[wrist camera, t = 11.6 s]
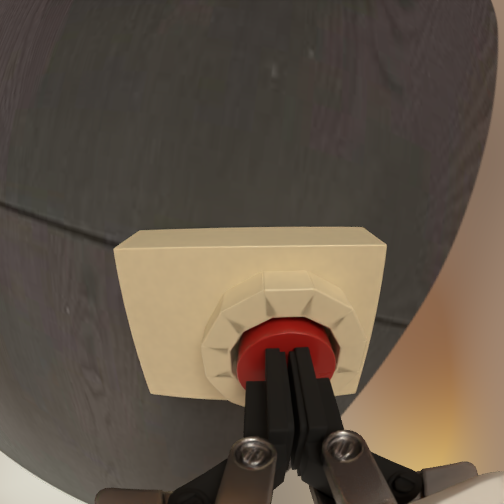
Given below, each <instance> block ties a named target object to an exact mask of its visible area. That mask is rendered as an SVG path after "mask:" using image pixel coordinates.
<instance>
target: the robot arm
mask: <svg viewBox="0 0 504 504" xmlns="http://www.w3.org/2000/svg"><path fill="white" fill-rule="evenodd" d="M290 456H291V467H292V470H296V469H297V473H298V476H301V479H302V481H304V482H305V483H307V484H309V489H310V492H311V494H312V498H313V501H314V504H504V472H490V473H486V474H482V475H478V473H477V470H476V467H475V466H474V465H473V464H472V463H469V462H459V463H454V464H450V465H444V466H438V467H433V468H426V469H422V470H421V471H417V472H415V471H413V470H412V469H409V468H406V467H404V466H402V465H399V464H397V463H394V462H392V461H390V460H388V459H385V458H383V457H381V456H378V455H377V454H374V453H372V452H371V451H370V450H369V448H368V446H367V444H366V442H365V440H364V439H363V438H362V436H361V435H359V434H358V433H356V432H353V431H350V430H344V428H343V425H342V420H341V417H340V413H339V410H338V406H337V403H336V399H335V396H334V392H333V389H332V385H331V382H330V379H329V378H328V377H327V378H316V375H315V371H314V367H313V363H312V359H311V355H310V351H309V347H296V348H294V351H289V355H288V369H287V363H286V356H285V352H280V349H279V348H265V381H246V392H245V415H244V438H243V439H241V440H239V441H237V442H236V443H235V444H234V445H233V446H232V448H231V450H230V453H229V456H228V458H227V459H226V460H224V461H223V462H221V463H220V464H218V465H217V466H215V467H213V468H212V469H210V470H209V471H207V472H205V473H204V474H202V475H201V476H199V477H197V478H196V479H194V480H192V481H190V482H189V483H187V484H185V485H183V486H182V487H180V488H178V489H176V490H175V491H168V492H163V490H140V489H121V488H105V489H102V490H100V491H99V492H98V493H97V494H96V498H95V504H271V501H272V495H273V490H274V489H275V488H276V487H277V486H279V485H280V484H281V483H282V482H284V476H285V471H286V470H288V466H289V461H290Z"/></svg>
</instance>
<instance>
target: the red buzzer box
mask: <svg viewBox="0 0 504 504" xmlns="http://www.w3.org/2000/svg"><path fill="white" fill-rule="evenodd" d="M386 249H387V245H386V244H385V243H384V242H382V241H381V240H379V239H378V238H377V237H375V236H374V235H373V234H371V233H370V232H368V231H367V230H366V229H364V228H363V227H243V228H198V229H166V230H140V231H138V232H137V233H135V234H134V235H132V236H131V237H129V238H128V239H127V240H125V241H124V242H122V243H121V244H119V245H118V246H117V247H115V248H114V256H115V261H116V267H117V272H118V277H119V282H120V287H121V292H122V296H123V301H124V305H125V309H126V313H127V317H128V321H129V325H130V329H131V333H132V336H133V340H134V344H135V347H136V350H137V354H138V357H139V360H140V364H141V367H142V370H143V373H144V376H145V379H146V382H147V385H148V388H149V390H150V393H151V394H157V395H165V396H174V397H185V398H198V399H214V400H229V401H230V402H232V403H235V404H238V405H241V406H243V407H245V392H246V390H244V388H243V387H242V386H241V384H240V382H239V380H238V377H237V358H238V348H239V340H240V337H241V335H242V334H243V332H244V331H246V330H248V329H251V328H253V327H255V326H257V325H259V324H261V323H263V322H265V321H267V320H269V319H271V318H279V317H306V318H308V319H310V320H312V321H315V322H317V323H319V324H321V325H323V327H324V328H325V330H326V333H327V335H328V338H329V341H330V344H331V347H332V349H333V352H334V355H335V359H336V366H335V371H334V374H333V376H332V378H331V380H330V382H331V385H332V389H333V392H334V396H338V395H346V394H354V393H356V389H357V386H358V383H359V379H360V376H361V373H362V369H363V365H364V362H365V358H366V354H367V350H368V346H369V342H370V338H371V334H372V329H373V325H374V320H375V315H376V310H377V305H378V300H379V295H380V289H381V283H382V277H383V270H384V264H385V256H386Z"/></svg>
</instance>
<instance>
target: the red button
mask: <svg viewBox="0 0 504 504" xmlns="http://www.w3.org/2000/svg"><path fill="white" fill-rule="evenodd" d="M296 347H309V351H310V355H311V359H312V363H313V367H314V371H315V375H316V378H327V377H328V378H329V379H330V380H331V378H332V376H333V374H334V371H335V366H336V359H335V355H334V352H333V349H332V347H331V344H330V341H329V338H328V335H327V333H326V330H325V328H324V327H323V325H321V324H319V323H317V322H315V321H312V320H310V319H308V318H306V317H279V318H271V319H269V320H267V321H265V322H263V323H261V324H259V325H257V326H255V327H253V328H251V329H248V330H246V331H244V332H243V334H242V335H241V337H240V340H239V348H238V358H237V377H238V380H239V382H240V384H241V386H242V387H243V388H244V390H246V381H265V348H279V349H280V352H285V356H286V363H287V369H288V355H289V351H294V348H296Z"/></svg>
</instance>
